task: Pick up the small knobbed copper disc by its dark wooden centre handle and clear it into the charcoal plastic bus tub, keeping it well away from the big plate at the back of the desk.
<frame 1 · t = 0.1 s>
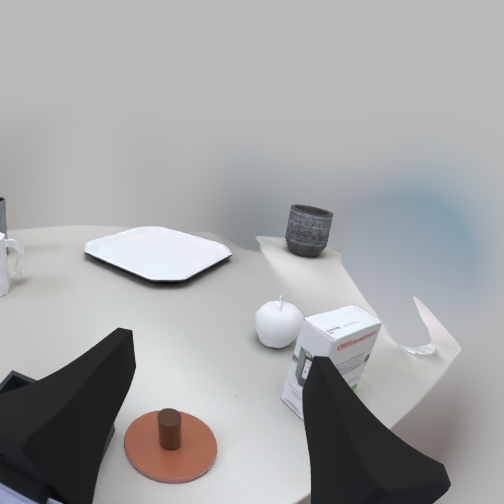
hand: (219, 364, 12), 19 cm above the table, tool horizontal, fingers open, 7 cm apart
planter 2: (303, 252, 93), on the table
tub: (40, 452, 20), on the table
knobbed copper disc: (170, 446, 26), on the table
mug: (0, 288, 45), on the table
plain white apple: (273, 342, 48), on the table
ink box: (317, 399, 36), on the table
plate: (157, 256, 73), on the table
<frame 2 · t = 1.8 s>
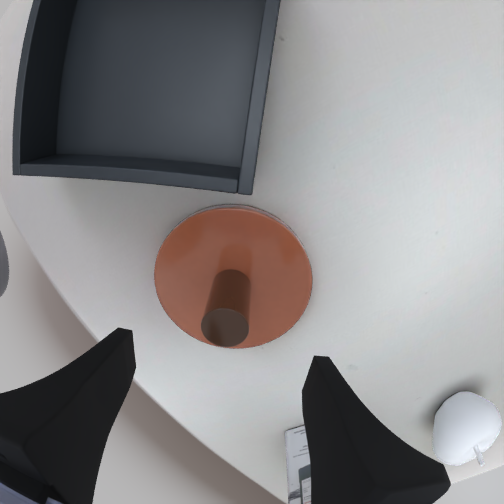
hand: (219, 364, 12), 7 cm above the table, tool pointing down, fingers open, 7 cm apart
tub: (153, 57, 14), on the table
knobbed copper disc: (232, 280, 19), on the table
plain white apple: (452, 403, 24), on the table
ink box: (324, 442, 25), on the table
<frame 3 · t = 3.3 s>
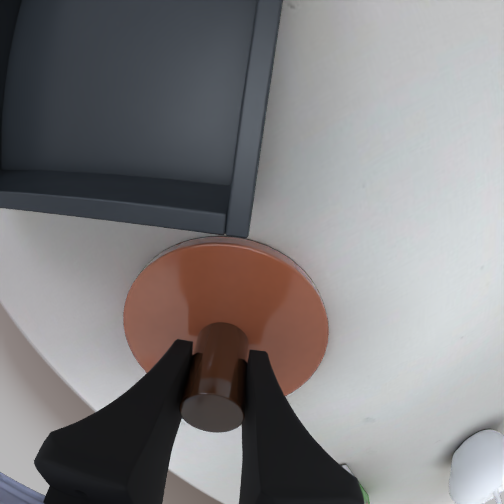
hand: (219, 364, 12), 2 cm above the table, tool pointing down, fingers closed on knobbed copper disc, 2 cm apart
tub: (114, 36, 9), on the table
knobbed copper disc: (224, 331, 14), on the table, touching gripper
plain white apple: (471, 441, 19), on the table
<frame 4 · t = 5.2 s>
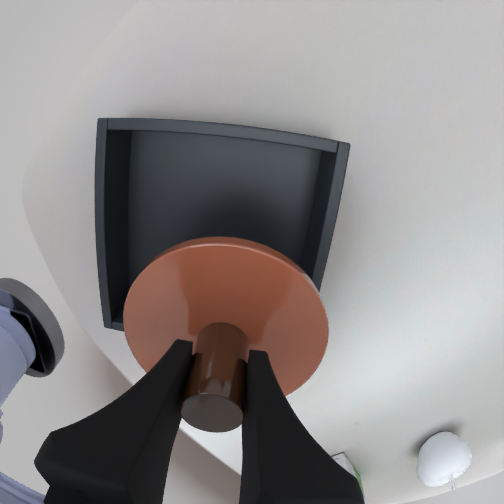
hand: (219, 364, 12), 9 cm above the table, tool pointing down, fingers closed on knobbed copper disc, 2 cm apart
tub: (215, 224, 20), on the table
knobbed copper disc: (224, 331, 14), point 7 cm above the table, touching gripper
plain white apple: (434, 439, 29), on the table
ink box: (333, 470, 31), on the table
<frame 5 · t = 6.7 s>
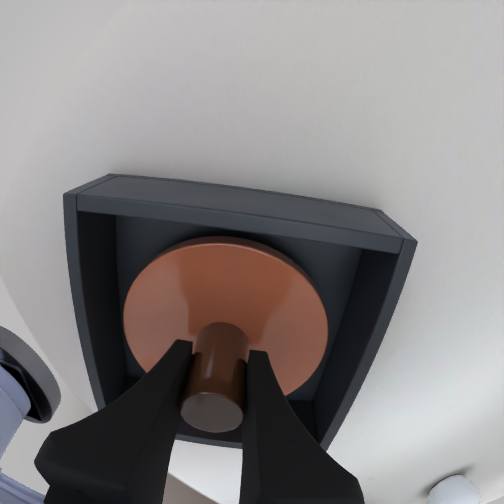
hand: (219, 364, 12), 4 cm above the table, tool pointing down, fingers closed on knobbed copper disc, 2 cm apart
tub: (228, 311, 16), on the table
knobbed copper disc: (224, 331, 14), point 2 cm above the table, touching gripper
plain white apple: (444, 481, 25), on the table
when the fingers open (3 cm above the table, at t = 7.3 s): knobbed copper disc stays where it is, resting on tub.
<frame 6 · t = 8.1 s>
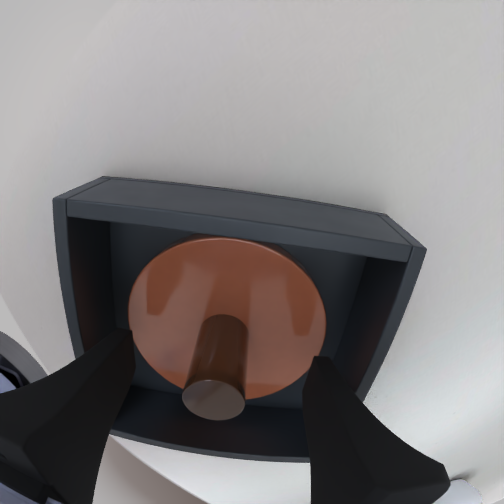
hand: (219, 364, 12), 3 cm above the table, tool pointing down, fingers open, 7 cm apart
tub: (227, 319, 15), on the table
knobbed copper disc: (225, 324, 15), resting on tub
plain white apple: (446, 485, 25), on the table
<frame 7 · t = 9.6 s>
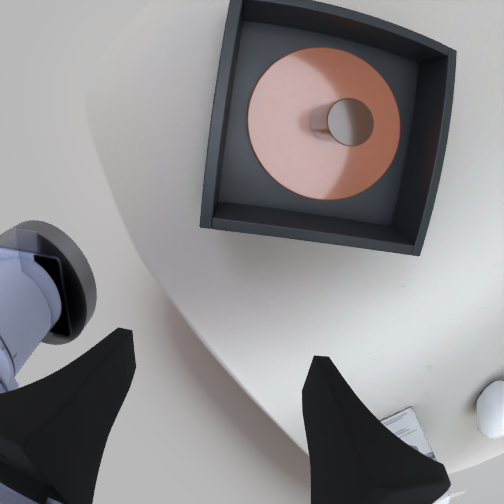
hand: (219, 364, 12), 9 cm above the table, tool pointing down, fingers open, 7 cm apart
tub: (324, 123, 17), on the table
knobbed copper disc: (325, 122, 17), resting on tub
plain white apple: (488, 391, 28), on the table
ink box: (395, 431, 29), on the table
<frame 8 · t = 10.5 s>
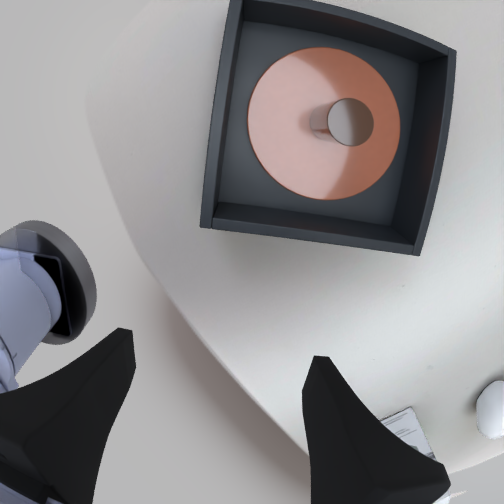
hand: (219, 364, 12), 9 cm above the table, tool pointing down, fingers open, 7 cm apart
tub: (324, 123, 17), on the table
knobbed copper disc: (325, 122, 17), resting on tub
plain white apple: (488, 391, 28), on the table
ink box: (395, 431, 29), on the table
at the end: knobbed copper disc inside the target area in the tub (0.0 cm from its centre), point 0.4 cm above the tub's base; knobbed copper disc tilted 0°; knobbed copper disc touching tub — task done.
